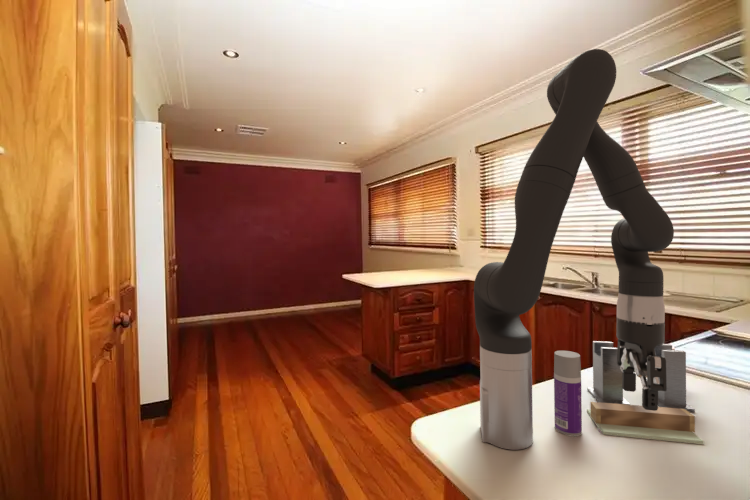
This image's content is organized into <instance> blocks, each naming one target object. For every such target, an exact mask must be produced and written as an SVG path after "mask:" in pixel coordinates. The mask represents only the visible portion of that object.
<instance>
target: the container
mask: <svg viewBox="0 0 750 500" xmlns="http://www.w3.org/2000/svg"><path fill="white" fill-rule="evenodd" d="M553 353H554V355H553V356H554V358H553V359H554V361H553V363H554V364H553V365H554V366H553V371H554V372H553V396H554V398H553V399H554V400H553V403H554V409H553V410H554V428H555V430H556V431H557V432H559V433H560V434H562V435H566V436H568V437H579V436H580V435H582V432H583V422H582V420H583V417H582V414H583V413H582V412H583V411H582V405H583V404H582V369H581V368H582V367H581V364H582V363H581V355H580V354H579V353H578V352H576V351H575V352H574V351H570V350H556V351H554V352H553Z"/></svg>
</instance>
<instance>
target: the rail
mask: <svg viewBox="0 0 750 500" xmlns="http://www.w3.org/2000/svg"><path fill="white" fill-rule="evenodd" d="M589 403H590V410H591V417H592V418H591V417H590V418H591V420H592V419H593V420H594V421H595V422H596V423H598V424H609V425H620V426H632V427H643V428H654V429H665V430H677V431H688V432H693V433H695V432H696V427H695V424H696V421H695V420H696V418H695V415H694V414H693V413H692V412H689V411H687V410H685V409H679V408H666V407H658V409H657V410H656V411H653V410H646V409H644V408H643V407H642V405H641V404H640V405H639V404H638V405H637V404H630V405H627V404H613V403H600V402H596V401H590V402H589ZM593 420H592V421H593ZM594 421H593V422H594ZM595 422H594V423H595Z"/></svg>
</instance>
